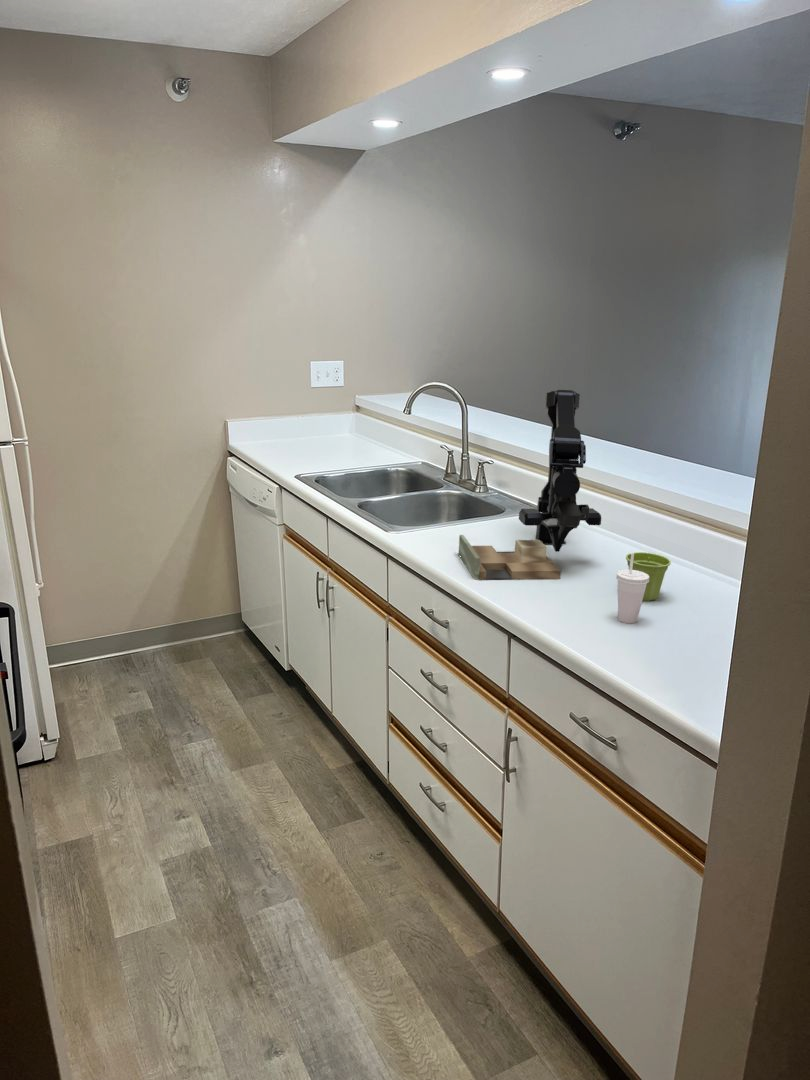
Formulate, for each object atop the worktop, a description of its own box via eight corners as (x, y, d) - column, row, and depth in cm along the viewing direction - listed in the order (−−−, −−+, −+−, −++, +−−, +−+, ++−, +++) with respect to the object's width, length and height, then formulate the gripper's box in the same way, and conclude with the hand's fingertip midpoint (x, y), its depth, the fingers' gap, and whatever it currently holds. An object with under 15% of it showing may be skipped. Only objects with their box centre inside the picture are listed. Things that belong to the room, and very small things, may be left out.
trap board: (535, 552, 205) (537, 533, 204) (560, 579, 186) (562, 558, 185) (458, 553, 202) (459, 534, 201) (475, 580, 183) (476, 559, 182)
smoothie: (606, 613, 166) (614, 548, 162) (637, 613, 166) (645, 548, 162) (617, 626, 160) (625, 558, 156) (648, 626, 160) (657, 558, 156)
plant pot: (666, 592, 179) (671, 555, 177) (665, 606, 171) (670, 568, 168) (623, 586, 182) (627, 550, 180) (619, 600, 174) (624, 562, 171)
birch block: (538, 553, 198) (539, 539, 197) (545, 561, 192) (546, 547, 191) (514, 553, 197) (515, 540, 196) (521, 561, 191) (522, 547, 190)
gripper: (533, 496, 181) (528, 562, 186) (613, 496, 184) (606, 561, 188) (520, 485, 192) (515, 547, 196) (595, 485, 195) (589, 547, 199)
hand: (556, 551), depth 195 cm, fingers closed
